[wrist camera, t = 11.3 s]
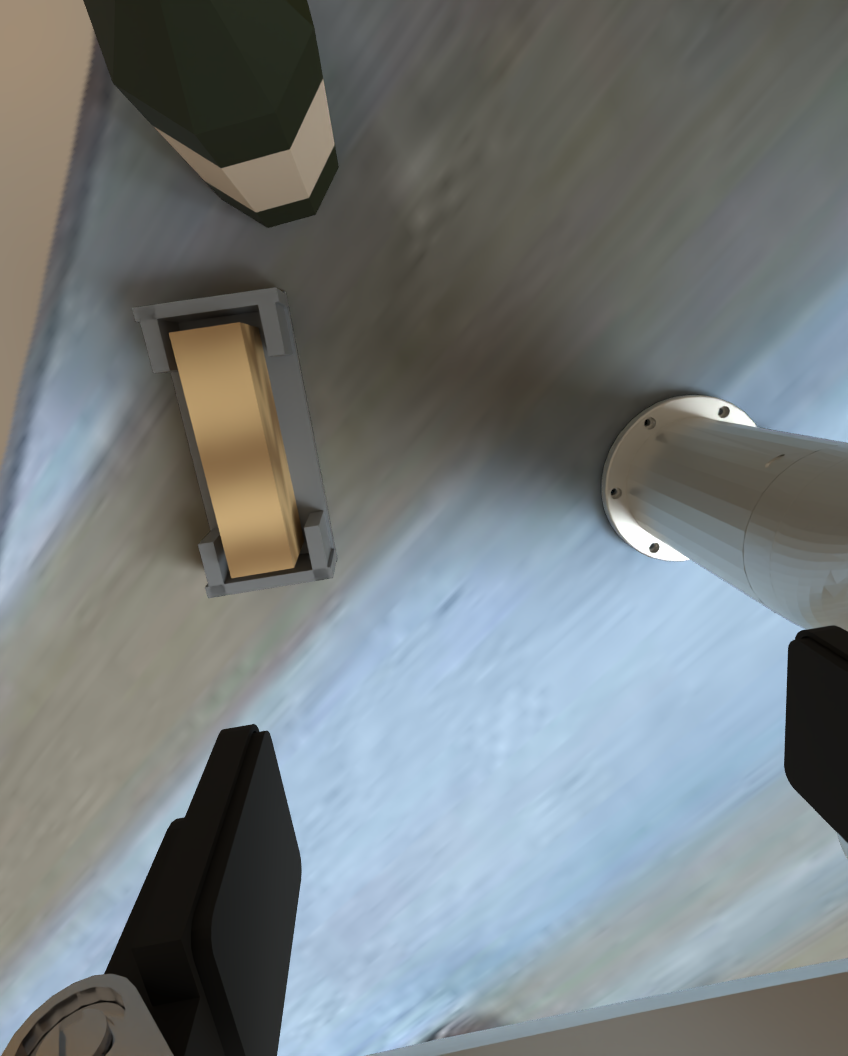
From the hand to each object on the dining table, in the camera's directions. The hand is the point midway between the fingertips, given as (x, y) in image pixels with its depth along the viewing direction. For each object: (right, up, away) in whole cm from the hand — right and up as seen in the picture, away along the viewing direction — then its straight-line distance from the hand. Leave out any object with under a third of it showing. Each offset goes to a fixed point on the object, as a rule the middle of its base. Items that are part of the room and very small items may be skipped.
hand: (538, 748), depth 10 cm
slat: (-14, +10, +31) cm, 36 cm away
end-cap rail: (-14, +10, +32) cm, 36 cm away
